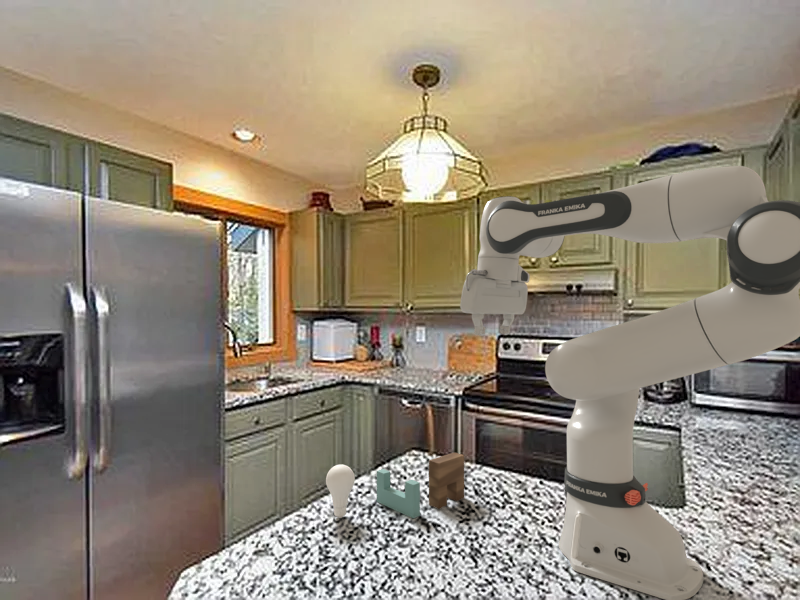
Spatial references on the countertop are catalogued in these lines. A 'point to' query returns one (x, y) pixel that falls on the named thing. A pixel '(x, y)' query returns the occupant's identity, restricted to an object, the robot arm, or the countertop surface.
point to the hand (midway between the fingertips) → (492, 334)
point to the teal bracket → (398, 495)
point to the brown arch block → (446, 479)
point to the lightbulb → (340, 487)
